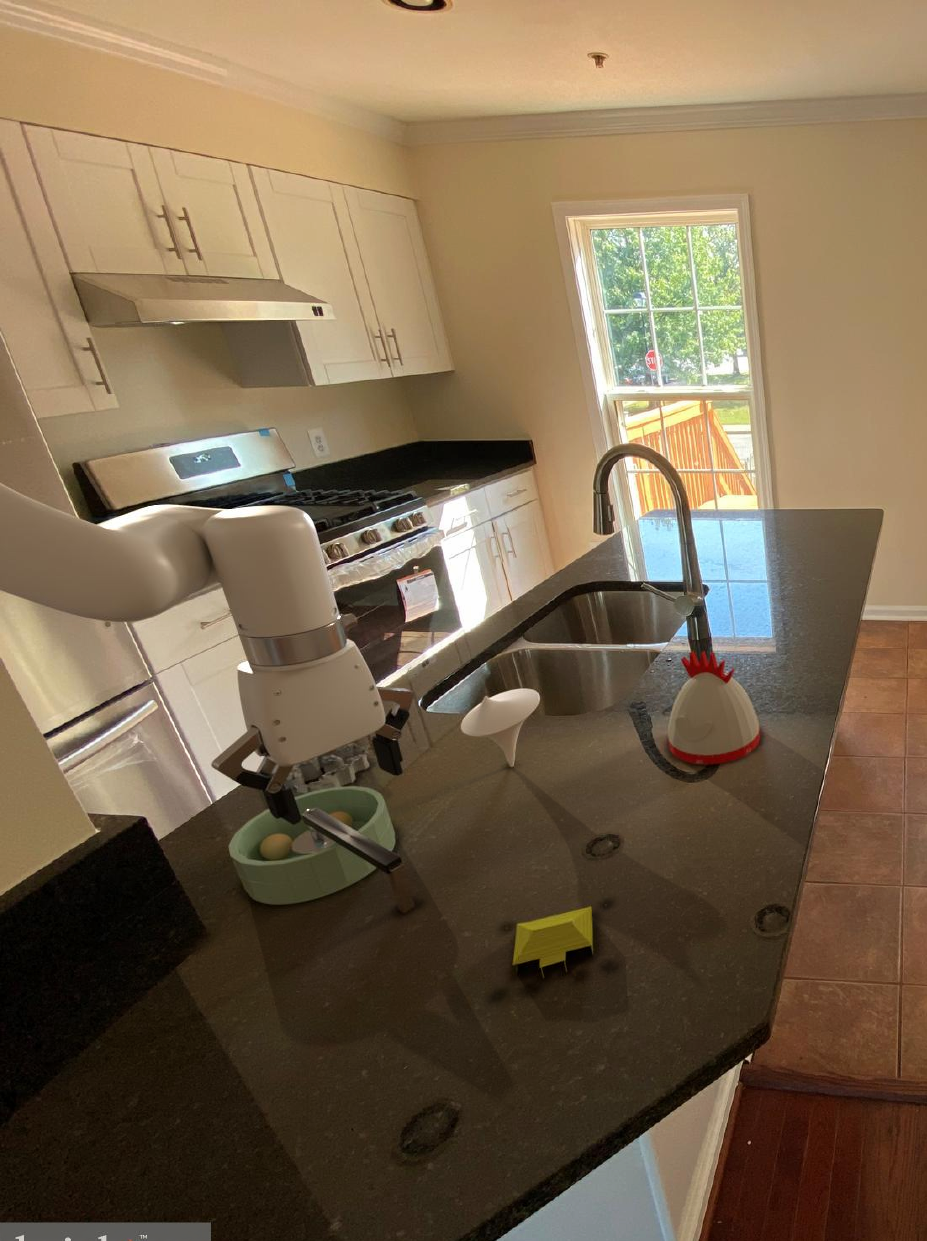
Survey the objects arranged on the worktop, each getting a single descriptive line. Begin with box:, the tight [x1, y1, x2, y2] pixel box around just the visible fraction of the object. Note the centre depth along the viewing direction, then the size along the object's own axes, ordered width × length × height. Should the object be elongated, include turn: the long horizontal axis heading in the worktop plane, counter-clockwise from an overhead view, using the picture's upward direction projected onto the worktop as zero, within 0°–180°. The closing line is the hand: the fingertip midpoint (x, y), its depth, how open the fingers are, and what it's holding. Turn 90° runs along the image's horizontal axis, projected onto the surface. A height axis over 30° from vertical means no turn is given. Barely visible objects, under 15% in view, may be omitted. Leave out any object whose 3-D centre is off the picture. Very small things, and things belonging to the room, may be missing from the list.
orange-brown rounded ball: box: [260, 834, 293, 860], centre depth 81 cm, size 3×3×3 cm
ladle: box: [292, 807, 416, 914], centre depth 78 cm, size 19×5×7 cm, turn 62°
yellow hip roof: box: [497, 903, 607, 998], centre depth 70 cm, size 10×9×3 cm
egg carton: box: [284, 742, 371, 797], centre depth 96 cm, size 11×8×4 cm
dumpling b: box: [329, 811, 353, 827], centre depth 85 cm, size 3×3×3 cm
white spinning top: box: [460, 688, 541, 768], centre depth 99 cm, size 10×11×12 cm
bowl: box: [228, 785, 397, 906], centre depth 81 cm, size 14×14×6 cm
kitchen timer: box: [667, 650, 761, 766], centre depth 105 cm, size 14×14×15 cm
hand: (343, 793), depth 72 cm, fingers open, 9 cm apart
